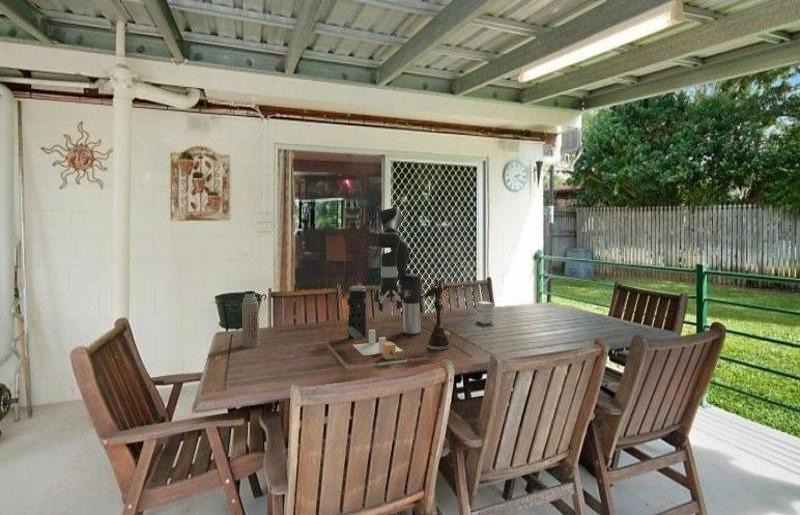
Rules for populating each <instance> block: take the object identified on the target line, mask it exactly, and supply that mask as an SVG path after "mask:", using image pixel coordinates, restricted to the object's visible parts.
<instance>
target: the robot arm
mask: <svg viewBox="0 0 800 515" xmlns="http://www.w3.org/2000/svg"><path fill="white" fill-rule="evenodd" d="M402 216H403V214H402V211H401V209H400V208H399V207H397V206H395V207H390V208H386V209H381V211H379V218H380V221H381V225H382V230H381V231H379V233H378V235H377V238H376V243H377V246H378V247H379V248H381V249H390V251H389V252H384V253H382V254H381V261H380V262H381V263H380V266H381V267H380V268H381V269H380V286H381V287H380V289H379V288H375V289H374V302H376V303H378V304H377V305H378V310H379V311H380V312H383V310H384V308H383V306H384V305H383V302H384V300H385V299H386V298H387V299H388V298H394V299H395V300H396V309H397V310H400V309H401V304H402V303H403V304H402V308H403V309H402V312H403V314H402V323H403V325H402V332H403V333H404V334H407V335H408V334H409V335H416V334H420V333H421V331H422V330H421V329H422V328H421V321H422V318H421V315H420V299H421V288H422V280H421V277H420V275H419V274H413V273H411V274H410V273H408V271H407V264H408V262H409V259H410V250H409V247H408V244H407V242H406V241H405V240H404V239H403V238H401V236H400V234H399V233H398V229H399V228H400V226H401V225H402V222H403V217H402ZM398 280H399V285H400V286H399V287H398ZM405 291H410V294H409V295H407V296H405ZM397 292H399V295H398V293H397ZM380 294H381V295H380ZM401 301H402V303H401Z"/></svg>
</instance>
